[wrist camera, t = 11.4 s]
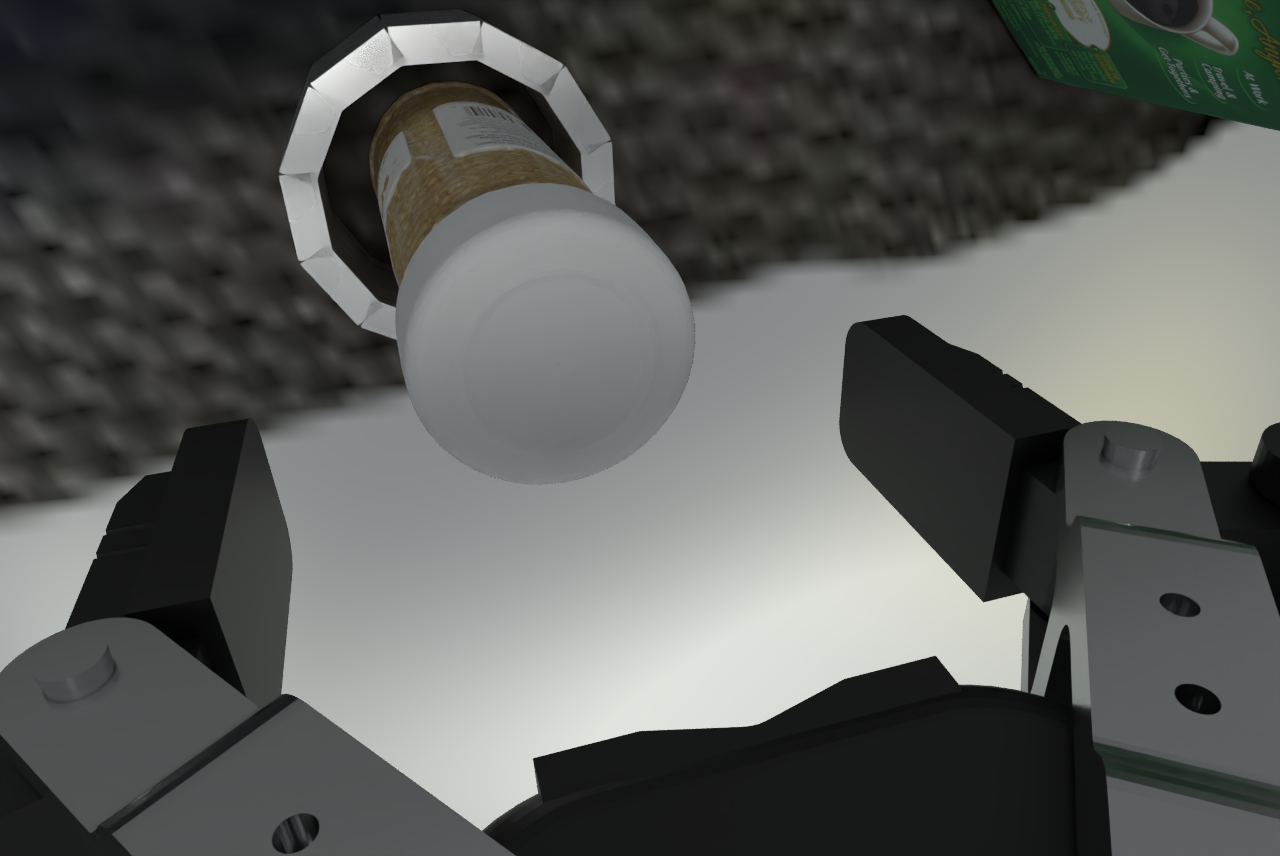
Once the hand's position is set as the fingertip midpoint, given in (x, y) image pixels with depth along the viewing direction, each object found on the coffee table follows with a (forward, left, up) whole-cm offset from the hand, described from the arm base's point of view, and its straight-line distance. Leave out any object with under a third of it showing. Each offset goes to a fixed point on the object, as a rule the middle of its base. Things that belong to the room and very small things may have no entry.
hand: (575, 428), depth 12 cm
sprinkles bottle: (0, 0, -15) cm, 15 cm away
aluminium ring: (0, 0, -15) cm, 15 cm away
